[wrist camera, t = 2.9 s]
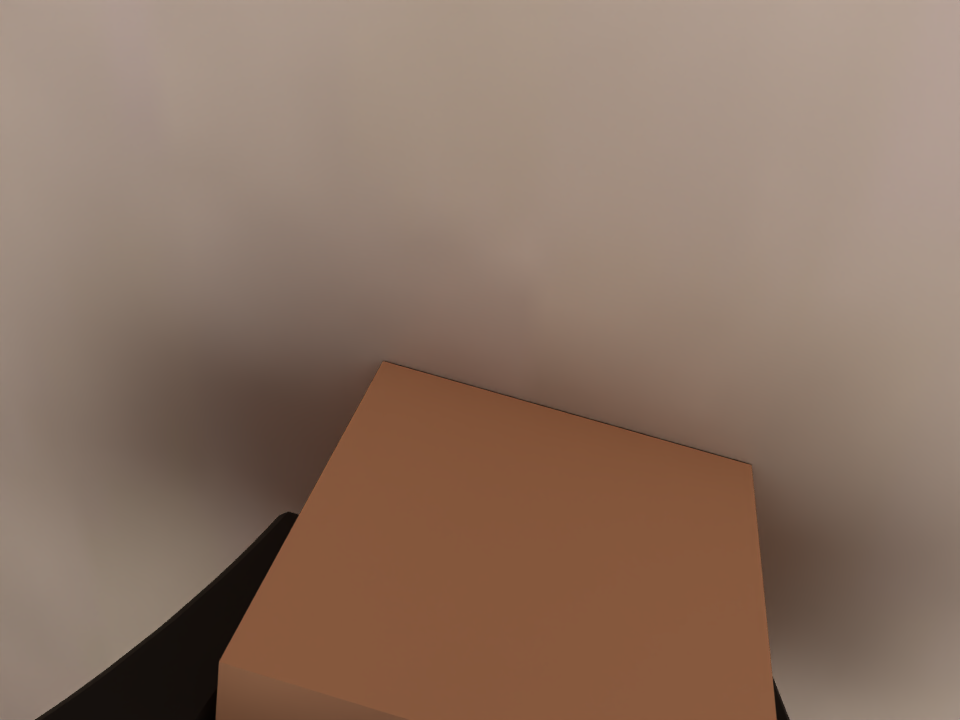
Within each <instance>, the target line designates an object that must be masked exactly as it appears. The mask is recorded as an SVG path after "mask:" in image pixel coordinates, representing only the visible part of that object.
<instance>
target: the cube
mask: <svg viewBox="0 0 960 720" xmlns="http://www.w3.org/2000/svg"><path fill="white" fill-rule="evenodd" d="M216 720H777V718H776V708H775V697H774V687H773V677H772V667H771V657H770V647H769V637H768V626H767V616H766V606H765V596H764V586H763V576H762V565H761V555H760V545H759V535H758V525H757V515H756V505H755V494H754V484H753V474H752V465H749V464H746V463H742V462H739V461H735V460H732V459H728V458H725V457H721V456H718V455H714V454H710V453H707V452H703V451H700V450H696V449H693V448H689V447H686V446H682V445H679V444H675V443H671V442H668V441H664V440H661V439H657V438H654V437H650V436H647V435H643V434H640V433H636V432H632V431H629V430H625V429H622V428H618V427H615V426H611V425H608V424H604V423H601V422H597V421H593V420H590V419H586V418H583V417H579V416H576V415H572V414H569V413H565V412H562V411H558V410H554V409H551V408H547V407H544V406H540V405H537V404H533V403H530V402H526V401H523V400H519V399H516V398H512V397H508V396H505V395H501V394H498V393H494V392H491V391H487V390H484V389H480V388H477V387H473V386H469V385H466V384H462V383H459V382H455V381H452V380H448V379H445V378H441V377H438V376H434V375H430V374H427V373H423V372H420V371H416V370H413V369H409V368H406V367H402V366H399V365H395V364H391V363H388V362H384V361H383V362H382V364H381V366H380V367H379V369H378V371H377V373H376V375H375V377H374V378H373V380H372V382H371V384H370V386H369V388H368V389H367V391H366V393H365V395H364V397H363V399H362V400H361V402H360V404H359V406H358V408H357V410H356V411H355V413H354V415H353V417H352V419H351V421H350V422H349V424H348V426H347V428H346V430H345V432H344V433H343V435H342V437H341V439H340V441H339V443H338V445H337V446H336V448H335V450H334V452H333V454H332V456H331V457H330V459H329V461H328V463H327V465H326V467H325V468H324V470H323V472H322V474H321V476H320V478H319V479H318V481H317V483H316V485H315V487H314V489H313V490H312V492H311V494H310V496H309V498H308V500H307V501H306V503H305V505H304V507H303V509H302V511H301V512H300V514H299V516H298V518H297V520H296V522H295V523H294V525H293V527H292V529H291V531H290V533H289V534H288V536H287V538H286V540H285V542H284V544H283V545H282V547H281V549H280V551H279V553H278V555H277V556H276V558H275V560H274V562H273V564H272V566H271V567H270V569H269V571H268V573H267V575H266V577H265V578H264V580H263V582H262V584H261V586H260V588H259V589H258V591H257V593H256V595H255V597H254V599H253V600H252V602H251V604H250V606H249V608H248V610H247V611H246V613H245V615H244V617H243V619H242V621H241V622H240V624H239V626H238V628H237V630H236V632H235V633H234V635H233V637H232V639H231V641H230V643H229V644H228V646H227V648H226V650H225V652H224V654H223V655H222V657H221V659H220V661H219V670H218V687H217V704H216Z"/></svg>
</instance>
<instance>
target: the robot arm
mask: <svg viewBox="0 0 960 720" xmlns="http://www.w3.org/2000/svg"><path fill="white" fill-rule="evenodd" d="M298 516H299V515H298V514H295V513H291V512H286V513H284V514H281V515H279V516H278V517H277V518H276V519H275V521H274V522H273V523H272V524H271V525H270V526H269V527H268V528H267V529H266V530H265V531H264V532H263V533H262V534H261V535H260V536H259V537H258V538H257V539H256V540H255V541H254V542H253V543H252V544H251V545H250V546H249V547H248V548H247V549H246V550H245V551H244V552H243V553H242V554H241V555H240V556H239V557H238V558H237V559H236V560H235V561H234V562H233V563H232V564H231V565H230V566H229V567H228V568H226V569H225V570H224V571H223V572H222V573H221V574H220V575H219V576H218V577H217V578H216V579H215V580H214V581H213V582H211V583H210V584H209V585H208V586H207V587H206V588H205V589H203V590H202V591H201V592H200V593H199V594H198V595H197V596H195V597H194V598H193V599H192V600H191V601H190V602H189V603H187V604H186V605H185V606H184V607H183V608H182V609H180V610H179V611H178V612H177V613H176V614H175V615H174V616H172V617H171V618H170V619H169V620H168V621H167V622H165V623H164V624H163V625H162V626H161V627H159V628H158V629H157V630H156V631H155V632H153V633H152V634H151V635H149V636H148V637H147V638H146V639H144V640H143V641H142V642H140V643H139V644H138V645H137V646H135V647H134V648H133V649H132V650H130V651H129V652H128V653H126V654H125V655H124V656H123V657H121V658H120V659H119V660H118V661H116V662H115V663H114V664H112V665H111V666H110V667H109V668H107V669H106V670H105V671H103V672H102V673H101V674H99V675H98V676H97V677H95V678H94V679H93V680H91V681H90V682H88V683H87V684H86V685H84V686H83V687H82V688H80V689H79V690H77V691H76V692H75V693H73V694H72V695H70V696H69V697H68V698H66V699H65V700H63V701H62V702H60V703H59V704H58V705H56V706H55V707H53V708H52V709H50V710H49V711H47V712H46V713H44V714H43V715H41V716H40V717H38V718H37V719H35V720H216V704H217V687H218V670H219V661H220V659H221V657H222V655H223V654H224V652H225V650H226V648H227V646H228V644H229V643H230V641H231V639H232V637H233V635H234V633H235V632H236V630H237V628H238V626H239V624H240V622H241V621H242V619H243V617H244V615H245V613H246V611H247V610H248V608H249V606H250V604H251V602H252V600H253V599H254V597H255V595H256V593H257V591H258V589H259V588H260V586H261V584H262V582H263V580H264V578H265V577H266V575H267V573H268V571H269V569H270V567H271V566H272V564H273V562H274V560H275V558H276V556H277V555H278V553H279V551H280V549H281V547H282V545H283V544H284V542H285V540H286V538H287V536H288V534H289V533H290V531H291V529H292V527H293V525H294V523H295V522H296V520H297V518H298ZM772 677H773V676H772ZM773 687H774V697H775V708H776V718H777V720H790V719H789V717H788V714H787V712H786V709H785V707H784V704H783V702H782V699H781V697H780V694H779V691H778V689H777V686H776V684H775V681H774V679H773Z"/></svg>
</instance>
